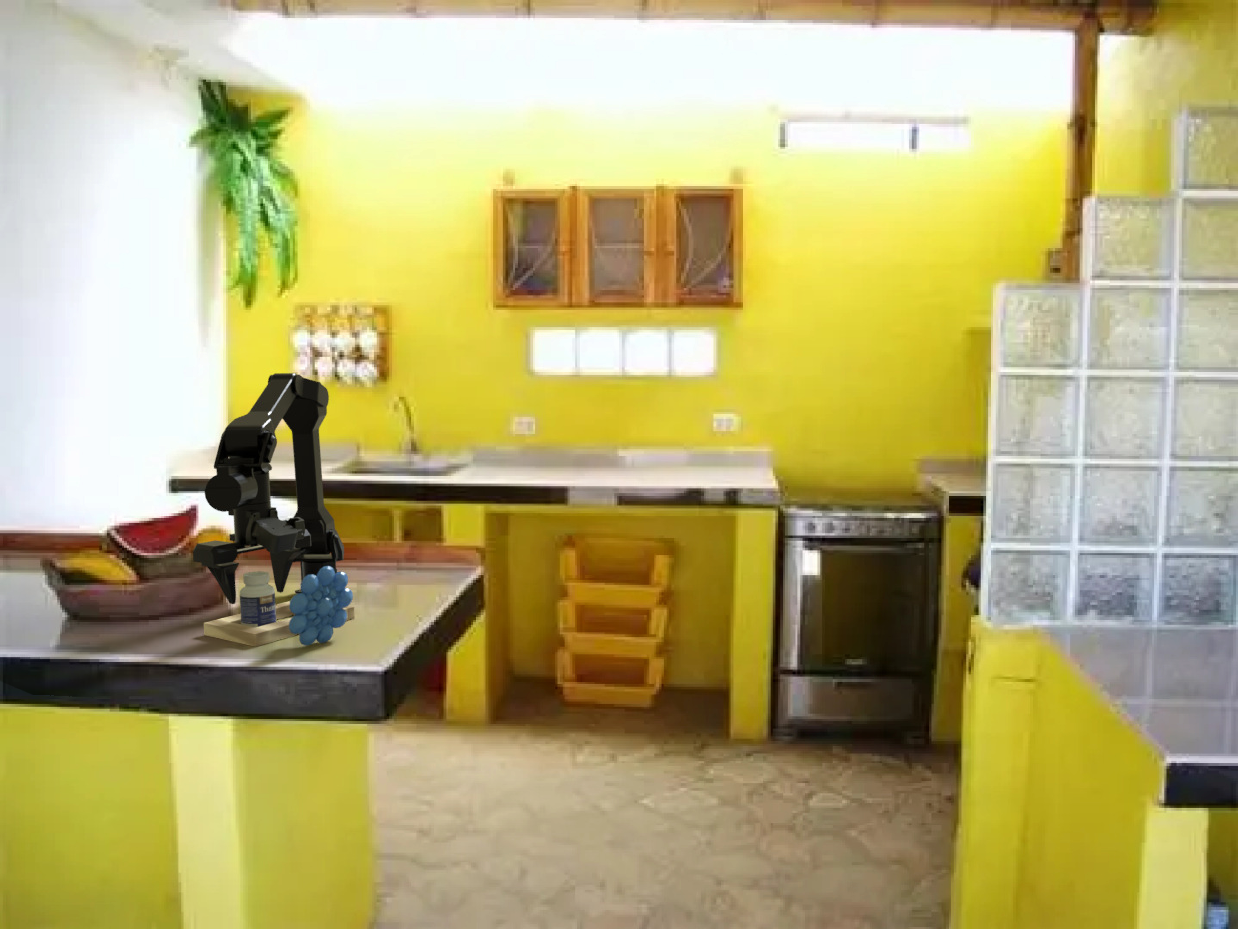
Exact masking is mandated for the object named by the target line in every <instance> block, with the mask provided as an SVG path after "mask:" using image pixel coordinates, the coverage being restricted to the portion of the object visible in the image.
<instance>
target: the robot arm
mask: <svg viewBox="0 0 1238 929" xmlns="http://www.w3.org/2000/svg"><path fill="white" fill-rule="evenodd" d="M329 398H330V396H329V391H328V388H327V387H325V386H324V385H323V384H322V382H321V381H316V380H313V379H310V378H306V377H303V376H302V375H301V374H297V372H290V373H289V372H287V373H286V372H285V373H284V372H282V373H277V372H276V373H274V374H270V375H269V376H268V380H267V384H266V386H265V387H264V389H263V391H262V392H261V393H260V395H259V396H258V398H257V399H256V401H255V402H254V404H253V405H252V407H251V408H250V410H249V411H248V412H247V413H246V414H244V415H241V416H238V417H236V418H234V419H233V420H232V421H230V423H229V424H228V425H227V426H226V427H225V429H224V431H223V432H222V434H221V436H220V440H219V444H218V448H217V453H216V456H215V460H214V463H213V469H215V472H216V475H214V476H212V477H211V478H210V479H209V480H208V482H207V483H206V486H205V488H204V496H205V500H206V502H207V503H208V505H209V506H210V507H211V508H212V509H213V510H215V511H218V512H221V513H224V512H225V513H226V512H228V516H232V517H233V529H234V531H233V532H234V533H230V534H229V542H228V541H222V540H216V539H215V540H211V541H206V542H201V543H200V542H198V543H196V545H195V546H194V548H193V550H192V559H193V560H192V561H193V562H195V563H200V565H201V567H206V568H207V569H208V570H209V572H210V573H211V574H212V576H213V578H214V579H215V580H216V582H217V584H218V585H219V587H220V589H221V591H222V593H223V594H224V596H225V598H226V600H227V601H228V603H229V604H230V605H235V604H236V602H237V601H236V599H237V587H236V570H237V568H238V567H239V565H240V563H239V562H235V560H236V559H237V557H238V555H241V554H245V553H250V552H255V551H260V550H265V551H267V552H268V553H269V557H270V562H271V568H272V574H273V581H274V584H275V588H276V592H277V593H281V594H282V593H283V592H284V590H285V588H286V584H287V581H288V578H289V574H290V571H291V569H292V566H293V563H297V562H298V563H300V582H302V580H303V579H304V577H306V576H307V575H311V574H314V575H316V576H317V574H318V572H319V570H320V569H321V568H322V567H324V566H330V567H332V568H333V569H334V571H335V573H337V572H338V569H337V562H340V561H342V562H343V561H344V560H345V559H344V555H345V547H344V546H345V545H344V544H343V541H342V540H341V537H340V535H339V533H338V531H337V530H336V526H335V520H334V517H333V516H332V515H331V513H330V512H329V511H328V509H327V507H325V501H324V490H323V489H324V488H323V486H324V485H323V472H322V456H321V444H320V428H321V425H322V424H323V422H324V420H325V418H326V417H327V414H328V412H327V411H328V408H327V407H328V406H329V400H330V399H329ZM282 420H283V422H284V423H285V424H286V426H287V427H288V428H289V430H290V431H291V437H292V451H293V462H294V463H293V464H294V465H293V466H294V478H295V481H294V482H295V493H296V506H297V508H296V509H297V510H296V512H295V514H294V516H293V517H290V518H289V519H280V518H279V516H278V510H277V507H273V506H272V501H271V499H272V498H271V483H270V481H271V480H270V472H271V471H272V469H273V466H272V464H271V462H272V459H273V456H274V453H275V450H276V447H277V443H278V439H277V437H276V429H277V428H278V426H279V425H280V423H281V422H282ZM298 593H302V591H301V588H299V589H296V590H294V594H298Z"/></svg>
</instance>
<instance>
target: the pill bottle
mask: <svg viewBox="0 0 1238 929" xmlns="http://www.w3.org/2000/svg"><path fill="white" fill-rule="evenodd" d="M242 578H243V579H242V580H243V584H244V586H243V587H242V588H240V590H239V608H240V614H241V625H246V626H251V627H255V628H256V627H259V626H263V625H267V624H271V623H274V622H277V620H276V609H275V605H276V597H275V596H276V590H275V588H274V586H273V585H271V584H269V583H270V580H271V579H270V572H268V571H258V570H257V571H249V572H246V573H244V574H243V576H242Z"/></svg>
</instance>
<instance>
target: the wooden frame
mask: <svg viewBox="0 0 1238 929" xmlns="http://www.w3.org/2000/svg"><path fill="white" fill-rule="evenodd" d="M290 601H291V600H289V601H285V602H280V603H277V604H276V603H275V609H276V622H274V623H271V624H267V625H263V626H259V627H256V628H255V627H251V626H246V625H241V613H238V614H237V613H236V614H234V615H230V616H226V617H222V618H218V619H214V620H210V621H205V622H203V634H204V636H207V637H212V638H217V639H221V640H225V641H228V642H229V641H230V642H233V643H238V644H243V645H248V646H251V647H260V646H263V645H266V644H267V645H268V644H270V643H273V642H277V640H278V641H280V639H281V640H283V639H282V638H285V639H288V638H291V636H292V637H294V635H295V636H298V635H297V634H293V633H291V631H290V629H289V622H290V620H291V618H292V617H293V616H294V615H296V614H294V613H292V612H291V610H290ZM343 609H345V610H346V612H347V620H346V622H348V621H350V619H351V620H354V619H355V618H356V617H355V616H356V615H355V606H352V605H348V606H347V607H345V608H343ZM292 615H293V616H292ZM289 617H290V618H289ZM284 618H285V619H284ZM277 619H278V620H279V621H278V620H277ZM281 619H283V620H281ZM299 635H300V633H299Z"/></svg>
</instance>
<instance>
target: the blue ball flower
mask: <svg viewBox="0 0 1238 929" xmlns="http://www.w3.org/2000/svg"><path fill="white" fill-rule="evenodd" d="M300 582H301V581H300ZM348 583H349V577H348V574H347V573H346V572H344V571H337V573H335V571H334V569H333V568H332V567H330V566H324V567H322V568H321V569H320V570H319V572H318V574H317V576H316V575H314V574H311V575H307V576H306V577H304V579H303V580H302V582H301V583H300V589H301V591H302V593H298V594H297V593H295V594H294V595H293V596H292V598H291V599H290V600H289V601H290V610H291V612H292V613H294V614H296V615H293V616H291V617H290V618H291V620H290V622H289V629H290V631H291V633H293V634H299V633H300V634H299V638H298V640H299V642H300V644H301V645H303V646H306V647H307V646H311V645H312V644H313V643H315V642H317V643H320V644H323V643H328V642H329V641H330V640H331V638H332V637H333V635H334V629H338V628H339V629H340V628H342V627H343V626H344V625H345V624H346V622H347V621H348V620H347V612H346V610H345V609H343V608H345V607H347V606H351V603H352V602H353V598H354V596H353V591H352V589H350V588H348V587H347V585H348ZM346 620H347V621H346Z"/></svg>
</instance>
